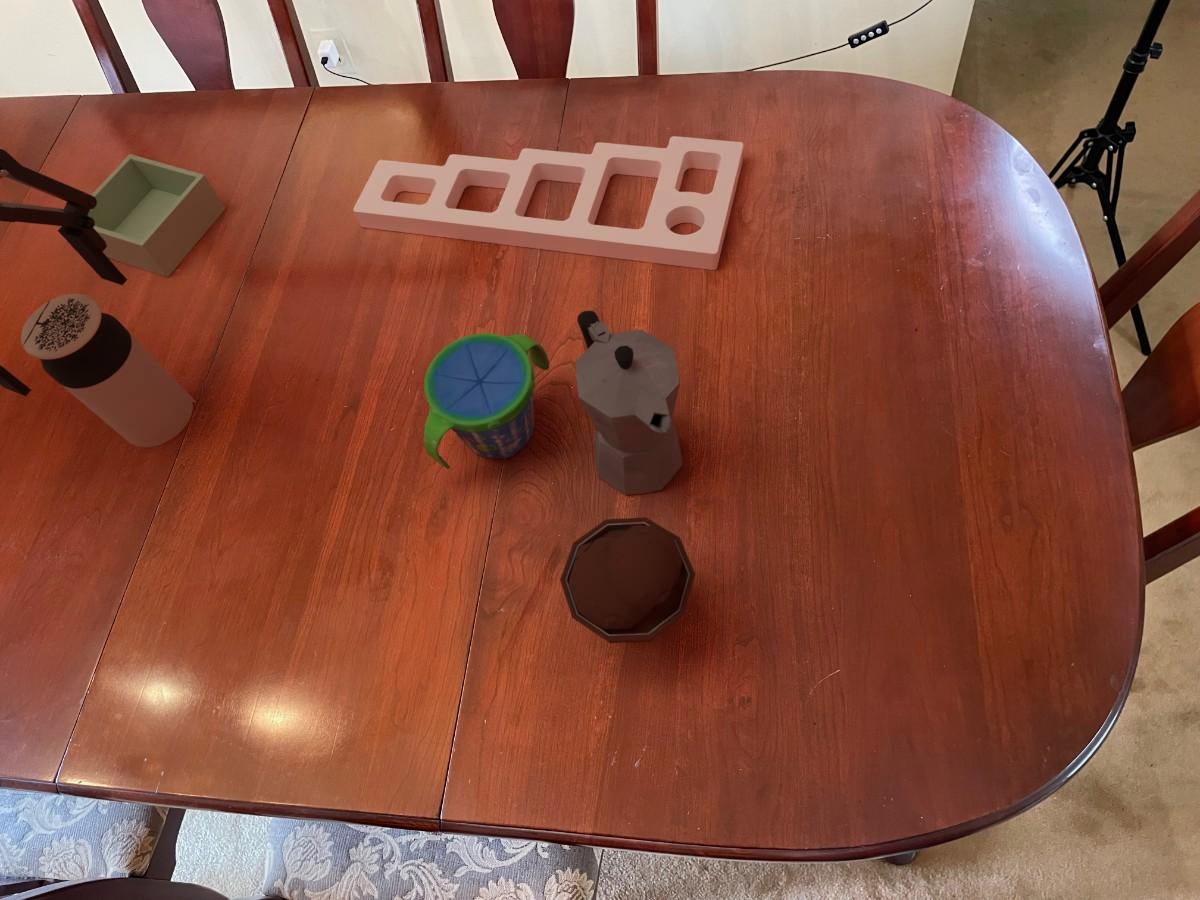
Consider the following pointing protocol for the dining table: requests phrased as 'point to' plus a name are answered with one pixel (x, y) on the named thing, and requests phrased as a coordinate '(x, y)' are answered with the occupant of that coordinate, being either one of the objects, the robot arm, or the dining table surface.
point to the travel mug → (107, 370)
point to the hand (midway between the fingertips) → (68, 332)
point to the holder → (579, 228)
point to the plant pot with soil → (627, 580)
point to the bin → (153, 213)
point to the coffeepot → (629, 405)
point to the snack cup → (483, 394)
